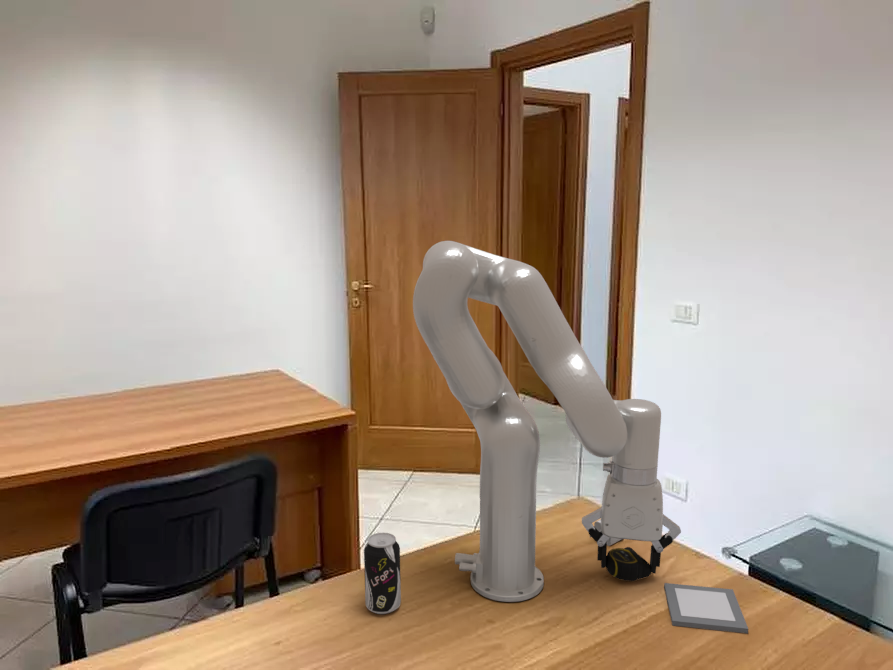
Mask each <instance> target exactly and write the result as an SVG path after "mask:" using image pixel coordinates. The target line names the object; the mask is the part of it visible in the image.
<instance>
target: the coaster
mask: <svg viewBox="0 0 893 670" xmlns="http://www.w3.org/2000/svg"><path fill="white" fill-rule="evenodd" d="M663 584H664V586H663V588H664V594H665V598H666V603H667V608H668V610H669V611H668V612H669V616H670V620H671V625H672V626H673V627H684V628H692V629H702V630H713V631H721V632H730V633H737V634H738V633H741V634H749V627H748V624H747V622H746V620H745V617H744V614H743V611H742V609H741V606H740V604H739V601H738V599H737V596H736V594H735V592H734V589H733V588H721V587H714V586H713V587H712V586H711V587H710V586H700V585H690V584H681V583H680V584H679V583H672V582H671V583H669V582H664V583H663Z"/></svg>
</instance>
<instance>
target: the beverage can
mask: <svg viewBox="0 0 893 670" xmlns="http://www.w3.org/2000/svg"><path fill="white" fill-rule="evenodd" d="M363 561H364V562H363V566H364V592H365V594H364V595H365V596H364V597H365V600H364V602H365V606H366V608H367V610H368V611H370V612H372V613H374V614H376V615H377V614H378V615H387V614H390V613H392V612H394V611H397V609H398V608H400V606H401V603H402V593H401V587H402V586H401V585H402V583H401V548H400V544H399V542H397V538H396V536H395V535H394V534H392V533H390V532H389V533H388V532H377V533H372V534H371V535H370V536H368V538H367V542H366V544H365V546H364V547H363Z"/></svg>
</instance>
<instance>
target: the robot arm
mask: <svg viewBox="0 0 893 670" xmlns="http://www.w3.org/2000/svg"><path fill="white" fill-rule="evenodd" d="M469 299H472V300H475V301H479V302H483V303H486V304H490V305H494V306H497V307H498V308H499V310H500V312H501V314H502V316H503V318H504V319H505V321H506V323H507V324H508V327H509V328H510V330H511V331H512V333H513V335H514V337H515V338H516V341H517V343H518V344H519V345H520V348H521V349H522V351H523V353H524V354H525V357H526V358H527V360H528V362H529V364H530V365H531V367H532V368H533V370H534V371H535V373H536V375H537V376H538V377H539V378H540V380H541V381H542V382H543V383H544V384H545V385H546V387H547V388H548V389H549V390H550V392H551V393H552V395H553V396H554V397H555V398H556V400H557V402H558V403H559V405H560V407H561V408H562V410H563V411H564V412H565V414H564V415H565V423H566V426H567V428H568V429H569V431H570V432H571V433H572V435H573V436H574V437H575V439H576V440H578V442H579V443H580V445H582V446H583V448H584V449H585V451H586V452H587V453H589V454H590V455H592V456H594V457H597V458H602V459H603V458H604V459H605V458H606V459H607V458H611V460H610V461H609V462H607V463H606V462H603V463H602V471H603V472H607V473H609V474H608V475H607V477H606V481H605V484H604V489H603V493H602V499H601V500H602V501H601V507H599V508H597V509H595V510H594V511H592V512H590V513H588V514H586V515H584V516H583V517H582V518H581V524H582V525H583V527H584V528H585V531H587V532H588V535H589V537H590V536H591V537H590V538H591V539H593V540H594V541H595V543H596V544H597V557H596V558H597V559H596V560H597V561H599V562H601V563H600V565H601V567H600V568H602V569H605V568H606V556H607V554H608V552H607V550H608V545H607V544H606V542H607V540H608V539H609V538H610V537H611V538H619V539H622V540H629V541H631V540H632V541H641V542H650V543H651V545H650V553H649V564H650V565H651V574H655V575H656V574H657V568H660V566H661V554H662V552H664V550H665V549H666V548H667V547H668V546H670V545H671V544H672V543H673V542H674V540H675V539H676V538H677V537H678V536H679V535H680V534H681V533H682V530H681V527H680V525H678V524H677V523H676V522H674V521H673V520H671V518H669V517H668V516H666V515H665V514H664V502H663V501H664V499H663V488H662V483H661V481H660V479H658V465H659V464H658V463H659V451H660V450H659V449H660V438H661V437H660V436H661V425H662V424H661V423H662V411H661V410H662V409H661V408H660V406H659V405H658V404H657V403H656V402H653V401H650V400H647V399H640V398H627V399H622V400H620V399H618V400H617V399H613V397H612V395H611V393H610V392H609V390H608V388H607V386H606V385H605V384H604V382H603V380H602V378H601V377H600V375H599V374H598V372H597V371H596V369H595V367H594V366H593V364H592V363H591V362H592V361H591V360H590V359H589V357H588V355H587V353H586V351H585V350H584V349H583V346H582V345H581V344H580V342H579V340H578V338H577V337H576V335H575V333H574V332H573V330H572V328H571V326H570V324H569V322H568V320H567V319H566V317H565V315H564V313H563V311H562V310H561V307H560V306H559V304H558V302H557V301H556V298H555V297H554V295H553V292H552V290H551V289H550V287H549V285H548V283H547V282H546V281H545V279H544V277H543V275H542V274H541V272H539V270H538V269H536V268H535V267H534V266H532V265H529V264H528V263H525V262H522V261H520V260H516V259H512V258H507V257H504V256H501V255H498V254H493V253H490V252H488V251H484V250H481V249H479V248H476V247H472V246H470V245H466V244H464V243H460V242H457V241H454V240H444V241H443V240H442V241H439V242H437V243H435V244H433V245H432V246H431V247H430V248H428V250H427V252H426V253H425V254H424V257H423V262H422V270H421V272H420V275H419V276H418V278H417V281H416V284H415V287H414V290H413V297H412V310H413V312H412V313H413V318H414V321H415V324H416V327H417V329H418V331H419V334H420V336H421V337H422V340H423V342H424V343H425V344H426V346H427V348H428V350H429V352H430V353H431V355H432V357H433V359H434V361H435V362H436V364H437V366H438V368H439V370H440V371H441V373H442V375H443V377H444V379H445V381H446V383H447V386H448V388H449V390H450V392H451V393H452V395H453V396H454V398H456V400H457V401H458V402H459V403H460V405H461V406H462V408H463V410H464V411H465V413H466V414H467V416H468V418H469V420H470V422H471V423H472V425H473V426H474V428H475V431H476V433H477V436H478V438H479V439H478V440H479V441H480V466H479V467H480V468H479V471H480V472H479V551H478V553H477V552H474V553H473V554H467V553H460V552H456V553H455V556H454V564H455V565H459V567H458V569H459V571H460V572H461V571H462V572H471V573H470V584H471V586H472V588H473V590H475V592H477V593H478V594H479V595H481V596H483V597H485V598H487V599H489V600H491V601H492V600H493V601H495V602H497V601H498V602H505V603H516V602H523V601H526V600H529V599H532V598H534V597H536V596H537V595H538V594H539V593H541V591H542V590H543V588H544V584H545V582H544V579H545V578H544V575H543V572H542V571H541V570H540V568H538V566H536V535H537V533H536V530H537V528H536V526H537V523H536V522H537V478H538V467H539V460H540V459H539V458H540V455H541V437H540V433H539V432H540V431H539V428H538V425H537V422H536V421H535V419H534V417H533V416H532V415H531V414H530V412H529V411H528V409H527V408H526V407H525V405H524V404H523V402H522V401H521V399H520V398H519V396H518V395H517V393H516V391H515V389H514V387H513V385H512V383H511V382H510V380H509V379H508V377H507V374H506V373H505V372H504V368H503V366H502V363H501V362H500V360H499V358H498V357H497V356H496V354H495V353H494V351H492V349H490V347H489V346H488V344H487V343H486V341H485V339H484V338H483V336H482V334H481V332H480V330H479V328H478V327H477V325H476V323H475V321H474V319H473V317H472V315H471V313H470V310H469V307H468V300H469ZM600 519H601V530H600V531H598V530H597V529H596V528H595V527H594V525H593V523H595V522H596V521H598V520H600ZM663 526H664V527H665V528H666V529H668V531H667V532H666V533H664V534H663Z"/></svg>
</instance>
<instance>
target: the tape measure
mask: <svg viewBox="0 0 893 670" xmlns="http://www.w3.org/2000/svg"><path fill="white" fill-rule="evenodd" d="M605 568H606V571H607V572H608V573H609V574H610V575H611V576H612V577H614V578H615V579H618V580H621V581H625V582H635V581H638V580H642V579H645V578H646V579H647V578H648V577H649V576H650V575H651V574H652V572H651V565H650V562H648V561H647V560H646V559H645V558H643V557H642V556H641V555H640V554H638V552H636V550H634V549H633V548H632V547H630V546H627V547H624V548H622V547H616V548H612V549H610V550H609V551H608V552H607V554H606V567H605Z"/></svg>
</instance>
